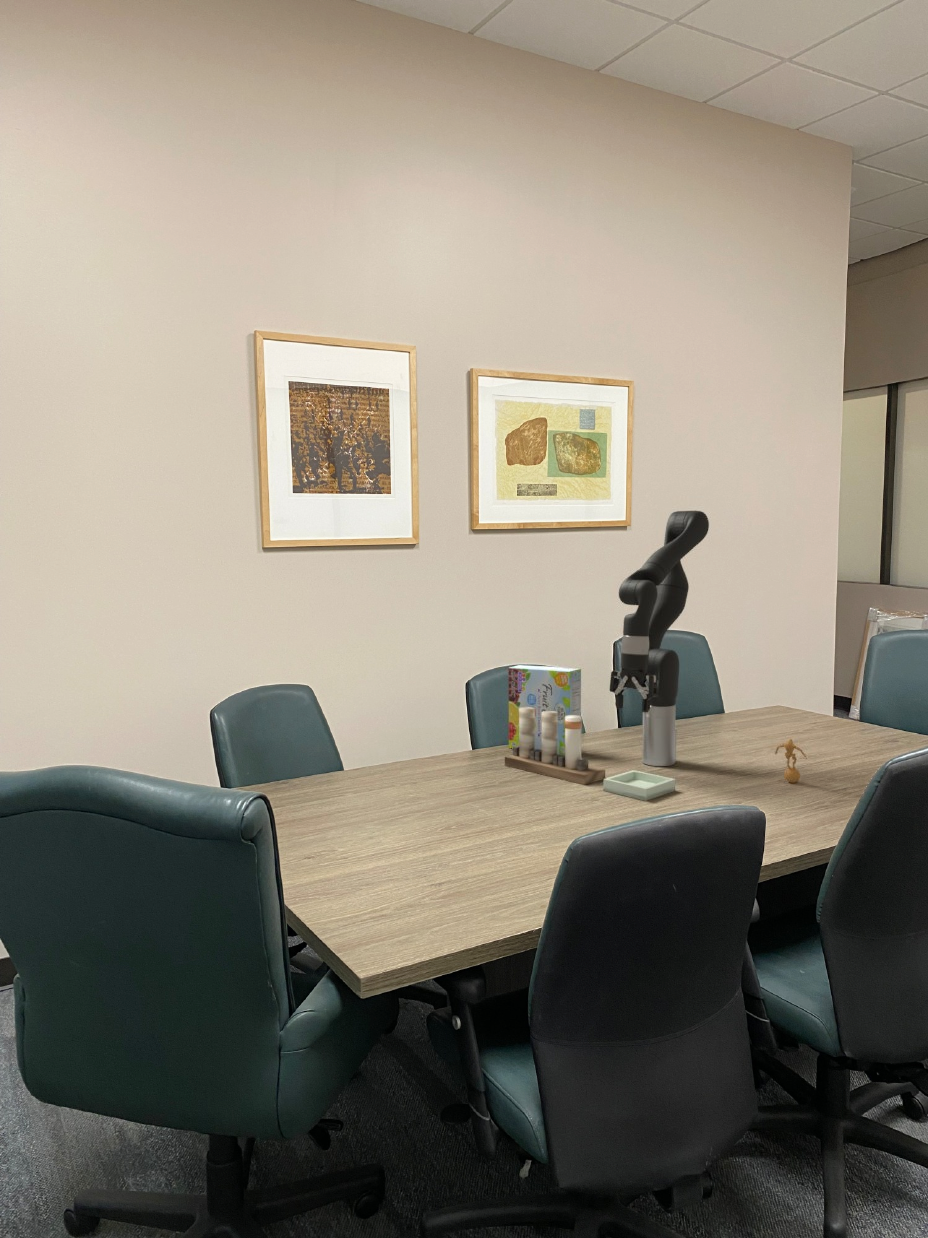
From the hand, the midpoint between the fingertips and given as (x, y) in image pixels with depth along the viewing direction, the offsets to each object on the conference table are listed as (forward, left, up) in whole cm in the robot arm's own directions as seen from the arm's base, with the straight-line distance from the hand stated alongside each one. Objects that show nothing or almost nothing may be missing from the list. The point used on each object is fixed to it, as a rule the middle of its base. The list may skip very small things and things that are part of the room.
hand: (632, 710), depth 243 cm
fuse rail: (+16, -15, -17) cm, 28 cm away
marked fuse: (+16, -8, -15) cm, 23 cm away
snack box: (-2, -34, -18) cm, 38 cm away
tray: (+15, +13, -17) cm, 26 cm away
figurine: (-19, +37, -17) cm, 45 cm away
